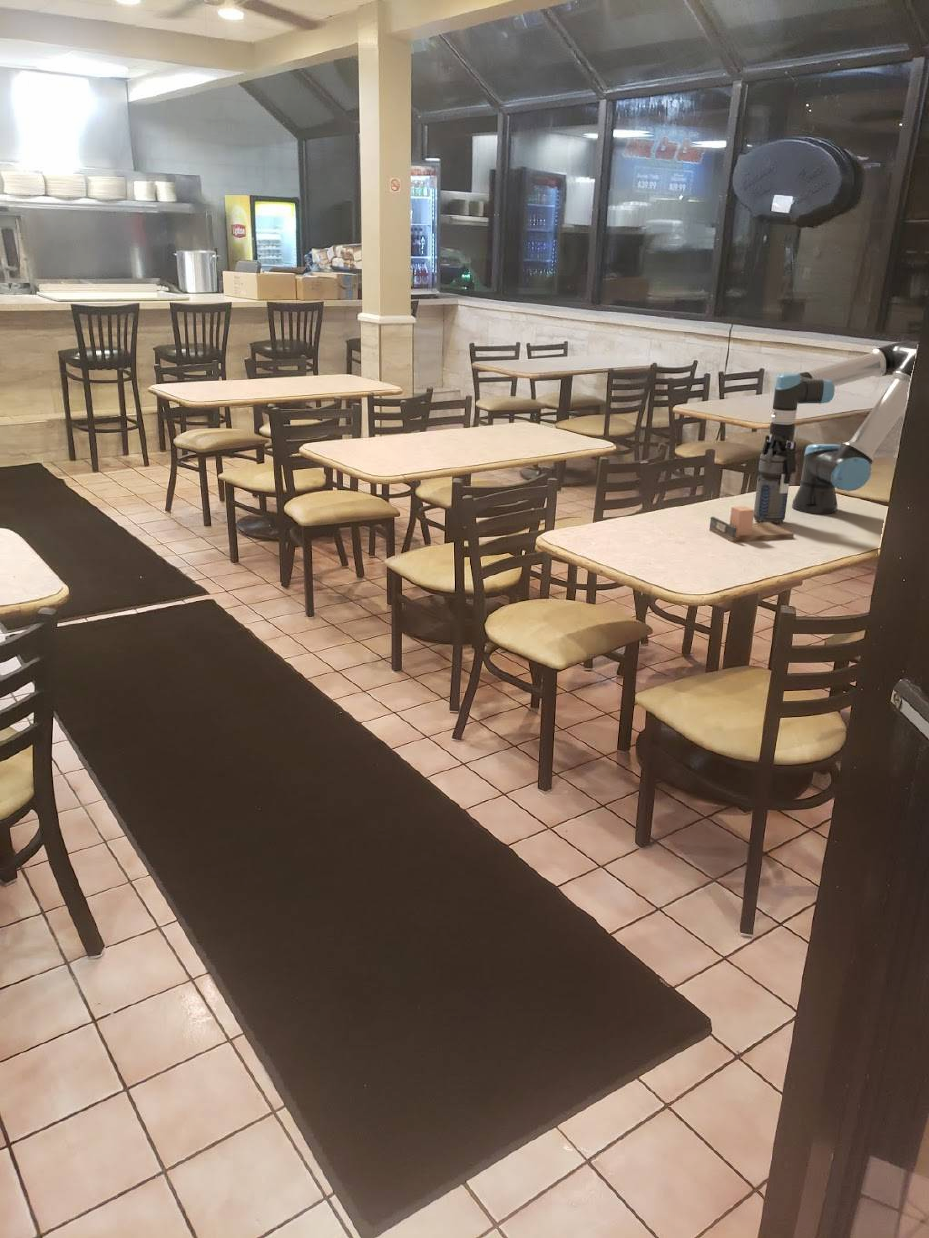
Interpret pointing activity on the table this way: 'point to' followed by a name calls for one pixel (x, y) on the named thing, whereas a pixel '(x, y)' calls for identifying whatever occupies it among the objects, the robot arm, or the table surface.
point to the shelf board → (758, 532)
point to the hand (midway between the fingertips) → (773, 489)
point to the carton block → (742, 520)
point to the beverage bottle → (770, 489)
